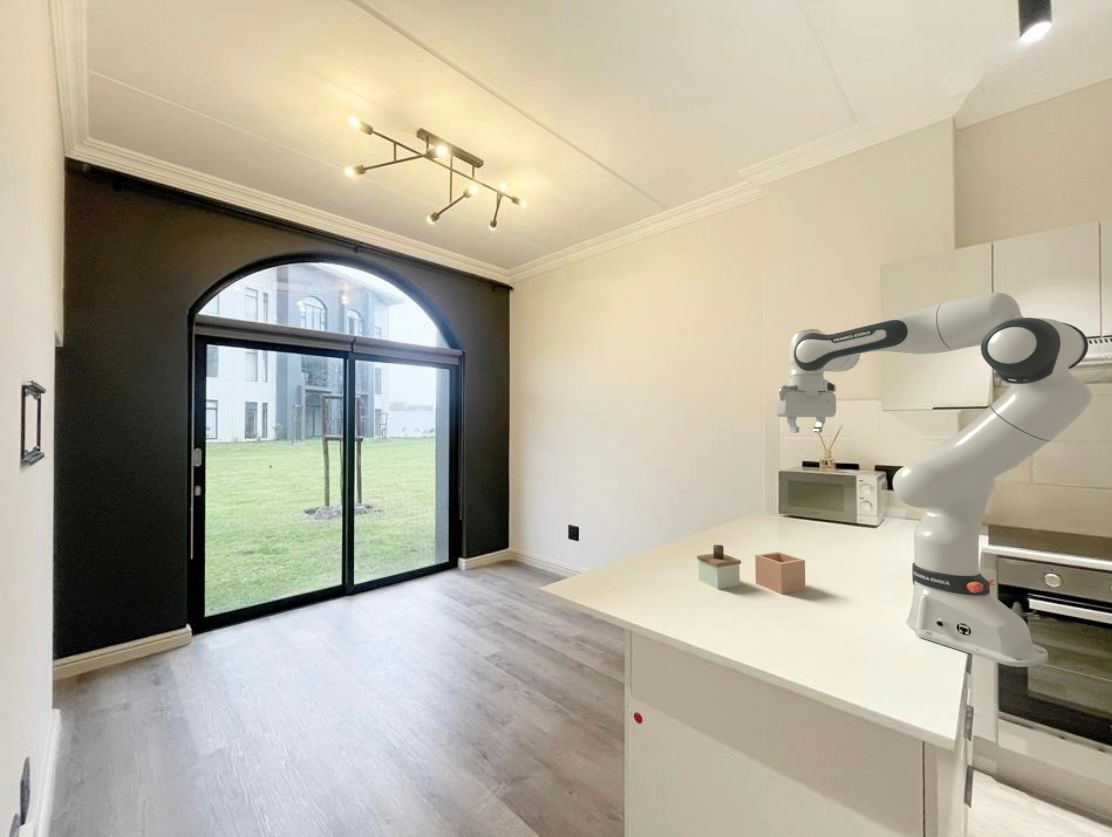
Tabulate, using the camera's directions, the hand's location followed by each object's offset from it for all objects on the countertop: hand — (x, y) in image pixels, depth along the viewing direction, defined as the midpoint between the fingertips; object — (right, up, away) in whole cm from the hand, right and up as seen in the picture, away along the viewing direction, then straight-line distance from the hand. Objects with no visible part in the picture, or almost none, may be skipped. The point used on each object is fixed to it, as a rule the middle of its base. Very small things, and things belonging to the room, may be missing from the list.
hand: (806, 432), depth 130 cm
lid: (-26, -38, 0) cm, 46 cm away
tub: (-26, -45, -1) cm, 52 cm away
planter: (-10, -45, -4) cm, 46 cm away
